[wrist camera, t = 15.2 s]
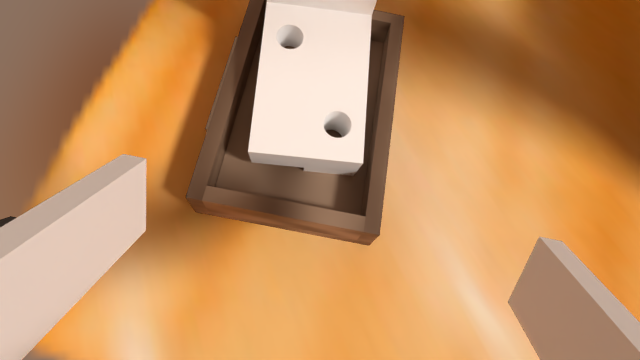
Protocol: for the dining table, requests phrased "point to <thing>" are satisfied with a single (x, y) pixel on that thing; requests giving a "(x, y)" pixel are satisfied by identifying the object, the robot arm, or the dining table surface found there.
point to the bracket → (312, 85)
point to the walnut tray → (287, 181)
